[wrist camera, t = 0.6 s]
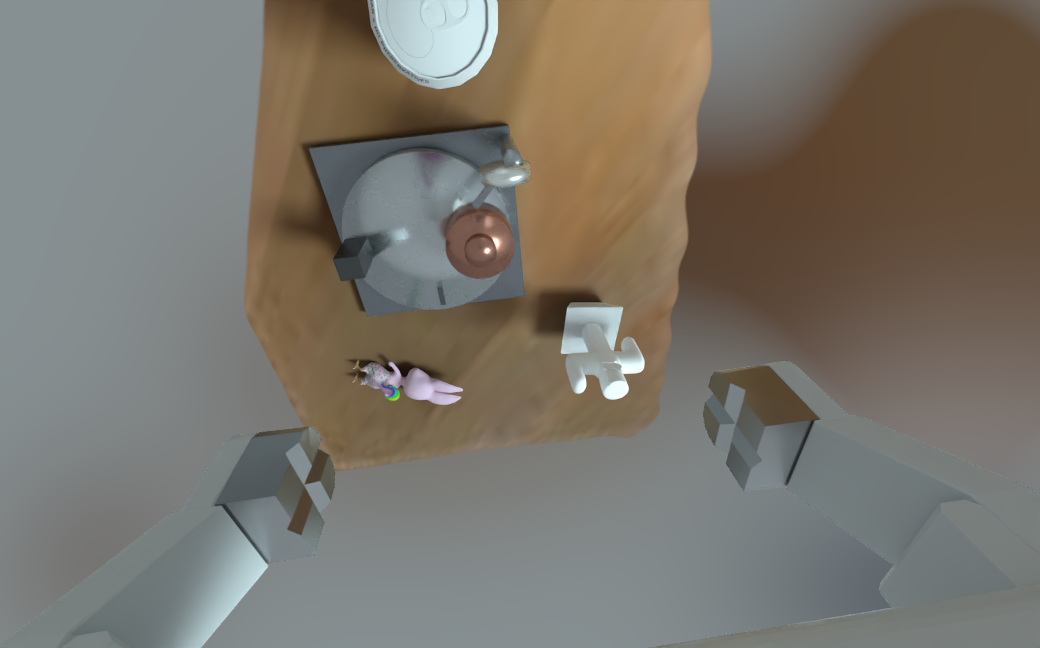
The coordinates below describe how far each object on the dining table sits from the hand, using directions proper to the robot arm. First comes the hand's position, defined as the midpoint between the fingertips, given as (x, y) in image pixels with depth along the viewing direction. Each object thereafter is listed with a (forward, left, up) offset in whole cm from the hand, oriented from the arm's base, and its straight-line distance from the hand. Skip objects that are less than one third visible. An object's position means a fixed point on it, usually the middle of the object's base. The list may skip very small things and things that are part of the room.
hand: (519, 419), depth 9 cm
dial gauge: (+4, +1, -40) cm, 40 cm away
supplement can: (-8, -2, -42) cm, 42 cm away
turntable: (+11, -7, -40) cm, 42 cm away
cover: (+11, -1, -38) cm, 40 cm away
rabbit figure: (+32, -14, -42) cm, 54 cm away
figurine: (+26, +11, -42) cm, 50 cm away
